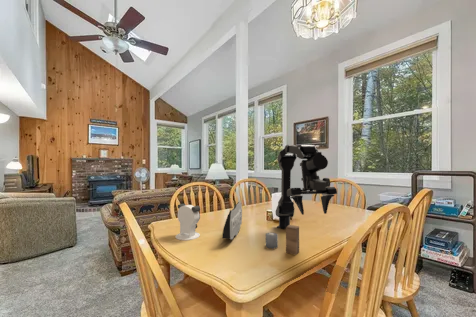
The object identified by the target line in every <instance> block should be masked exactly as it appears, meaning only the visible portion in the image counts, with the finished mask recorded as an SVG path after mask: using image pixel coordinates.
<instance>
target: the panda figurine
mask: <svg viewBox="0 0 476 317" xmlns="http://www.w3.org/2000/svg"><path fill="white" fill-rule="evenodd" d="M200 211H201V207H200V205H192V204H186V203H180V204H177V221H178V222H179V233H177V234H176V235H175V239H176V240H178V241H193V240H196V239H198V238H200V236H201V234H200V233H199V232H197V231H196V229H197V228H198V223H199V222H200V219H201V214H200Z"/></svg>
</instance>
